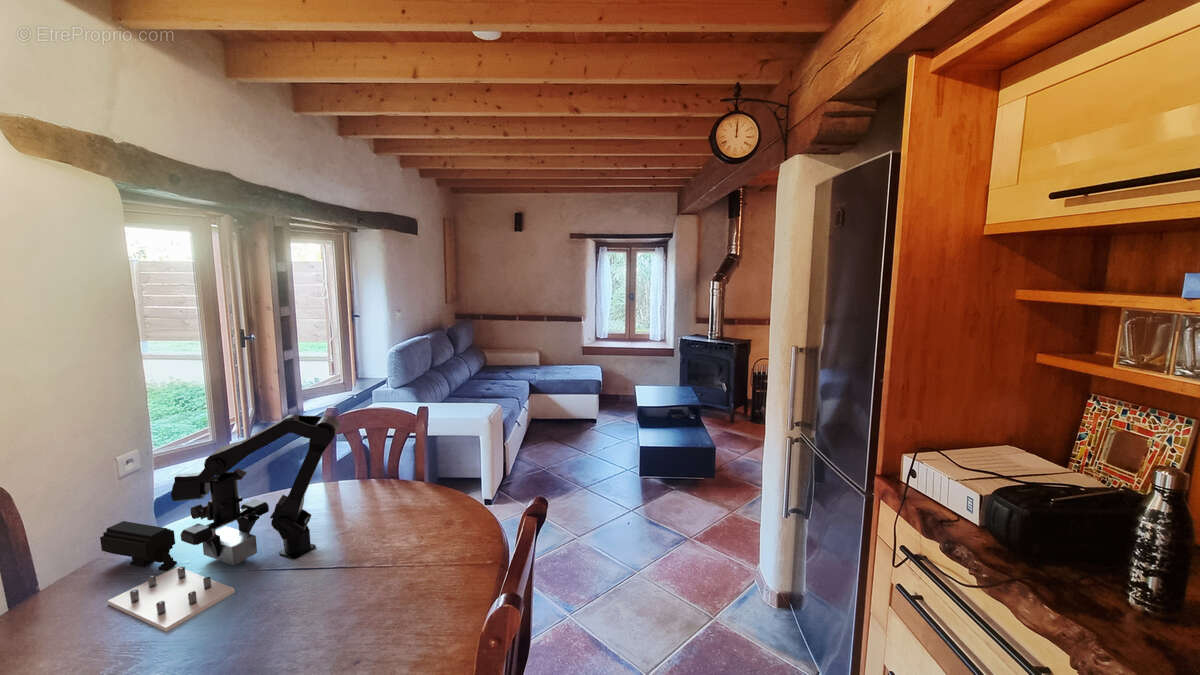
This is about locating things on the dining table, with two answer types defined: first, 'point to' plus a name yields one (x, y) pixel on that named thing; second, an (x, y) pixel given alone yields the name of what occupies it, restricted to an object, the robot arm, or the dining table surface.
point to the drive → (233, 546)
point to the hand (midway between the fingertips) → (230, 550)
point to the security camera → (140, 544)
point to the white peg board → (171, 598)
